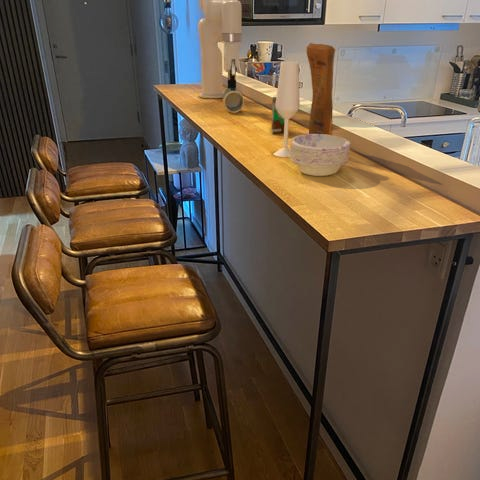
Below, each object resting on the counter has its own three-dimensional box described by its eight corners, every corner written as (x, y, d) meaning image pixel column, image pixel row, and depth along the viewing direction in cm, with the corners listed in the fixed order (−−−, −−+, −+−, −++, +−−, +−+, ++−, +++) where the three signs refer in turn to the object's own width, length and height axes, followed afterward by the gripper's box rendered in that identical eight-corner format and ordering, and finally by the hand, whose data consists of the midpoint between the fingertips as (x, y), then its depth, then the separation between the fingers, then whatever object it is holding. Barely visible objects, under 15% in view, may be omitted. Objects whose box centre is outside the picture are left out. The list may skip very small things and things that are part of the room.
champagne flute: (298, 152, 148) (304, 61, 135) (294, 158, 143) (300, 63, 130) (276, 150, 150) (280, 60, 137) (271, 156, 144) (274, 63, 131)
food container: (291, 135, 166) (293, 103, 161) (272, 135, 166) (273, 102, 161) (288, 127, 177) (290, 96, 171) (271, 127, 177) (272, 96, 171)
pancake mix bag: (314, 157, 143) (323, 46, 128) (299, 141, 159) (305, 41, 144) (336, 156, 144) (348, 46, 129) (319, 141, 160) (328, 41, 145)
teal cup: (222, 87, 199) (224, 91, 194) (242, 87, 200) (244, 91, 195) (222, 108, 204) (224, 112, 199) (241, 108, 205) (243, 112, 200)
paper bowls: (333, 183, 123) (336, 150, 118) (278, 173, 130) (280, 142, 125) (355, 168, 134) (359, 138, 129) (304, 160, 140) (306, 130, 136)
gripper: (219, 37, 197) (220, 88, 207) (224, 39, 185) (224, 93, 195) (238, 37, 198) (238, 88, 208) (244, 39, 186) (243, 93, 195)
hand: (231, 90), depth 201 cm, fingers closed
